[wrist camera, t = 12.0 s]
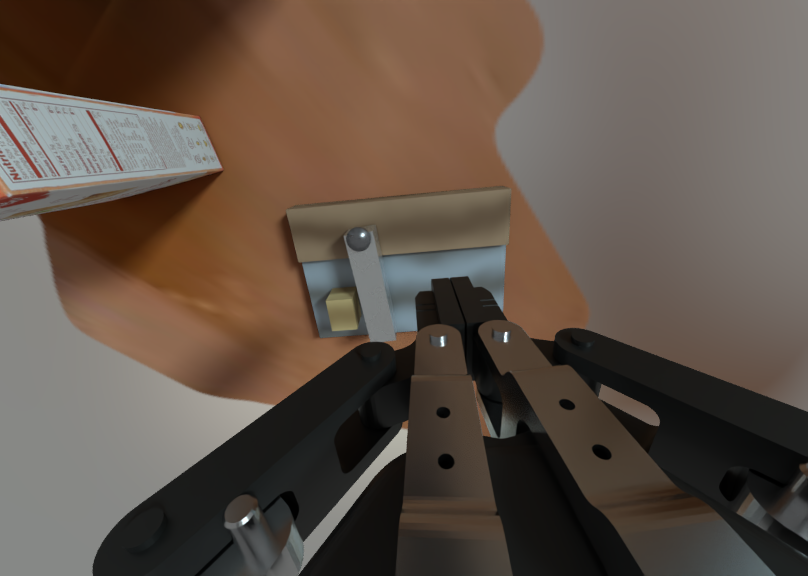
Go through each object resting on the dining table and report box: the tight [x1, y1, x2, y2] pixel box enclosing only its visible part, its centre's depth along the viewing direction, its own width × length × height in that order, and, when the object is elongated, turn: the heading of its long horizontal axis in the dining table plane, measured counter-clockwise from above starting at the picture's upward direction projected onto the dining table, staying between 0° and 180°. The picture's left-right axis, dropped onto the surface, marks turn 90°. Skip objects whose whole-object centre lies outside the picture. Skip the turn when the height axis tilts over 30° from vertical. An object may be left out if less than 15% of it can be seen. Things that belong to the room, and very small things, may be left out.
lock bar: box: [344, 225, 397, 342], centre depth 34 cm, size 14×3×4 cm, turn 10°
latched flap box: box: [286, 186, 511, 338], centre depth 36 cm, size 17×24×6 cm
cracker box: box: [0, 84, 223, 221], centre depth 24 cm, size 14×6×21 cm, turn 103°
